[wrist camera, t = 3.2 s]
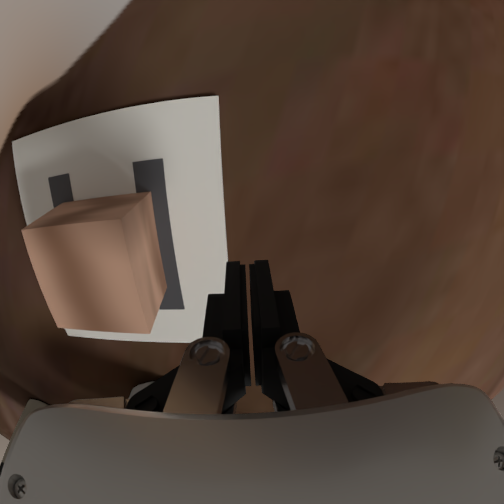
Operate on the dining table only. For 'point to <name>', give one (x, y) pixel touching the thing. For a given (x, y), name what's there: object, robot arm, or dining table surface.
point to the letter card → (143, 180)
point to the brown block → (99, 263)
